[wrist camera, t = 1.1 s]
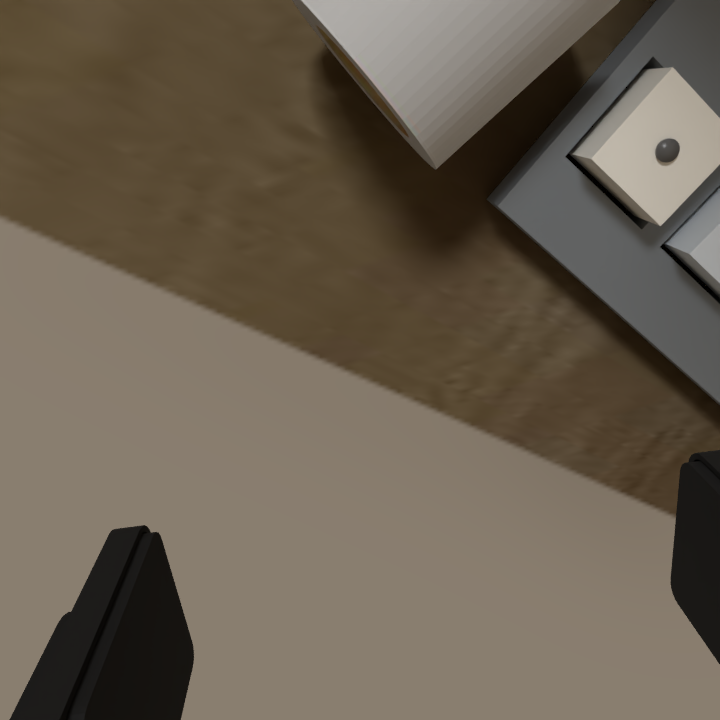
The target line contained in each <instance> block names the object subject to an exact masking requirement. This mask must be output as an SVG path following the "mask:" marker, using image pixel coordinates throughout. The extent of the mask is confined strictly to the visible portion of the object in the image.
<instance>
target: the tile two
mask: <svg viewBox="0 0 720 720" xmlns="http://www.w3.org/2000/svg"><path fill="white" fill-rule="evenodd" d="M663 244H664V245H665V246H666V247H667V248H668V249H669V250H670V251H671V252H672V253H673V254H674V255H675V256H676V257H678V258H679V259H680V260H681V261H682V262H683V263H684V264H685V265H686V266H687V267H688V268H689V269H690V270H691V271H692V272H693V273H694V274H695V275H696V276H697V277H698V278H699V279H700V280H702V281H703V282H704V283H705V284H706V285H707V286H708V287H709V288H710V289H711V290H712V291H713V292H714V293H715V294H716V295H717V296H718V297H720V185H719V186H718V187H717V188H716V189H715V190H714V191H713V193H712V194H711V195H710V196H709V197H708V198H707V199H706V200H705V201H704V202H703V203H702V204H701V205H700V206H699V207H698V208H697V209H696V210H695V211H694V212H693V213H692V214H691V215H690V216H689V217H688V218H687V219H686V220H685V221H684V222H683V223H682V224H681V226H680V227H679V228H678V229H677V230H676V231H675V232H674V233H673V234H672V235H671V236H670V237H669V238H668V239H667V240H666V241H665V242H664V243H663Z"/></svg>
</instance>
